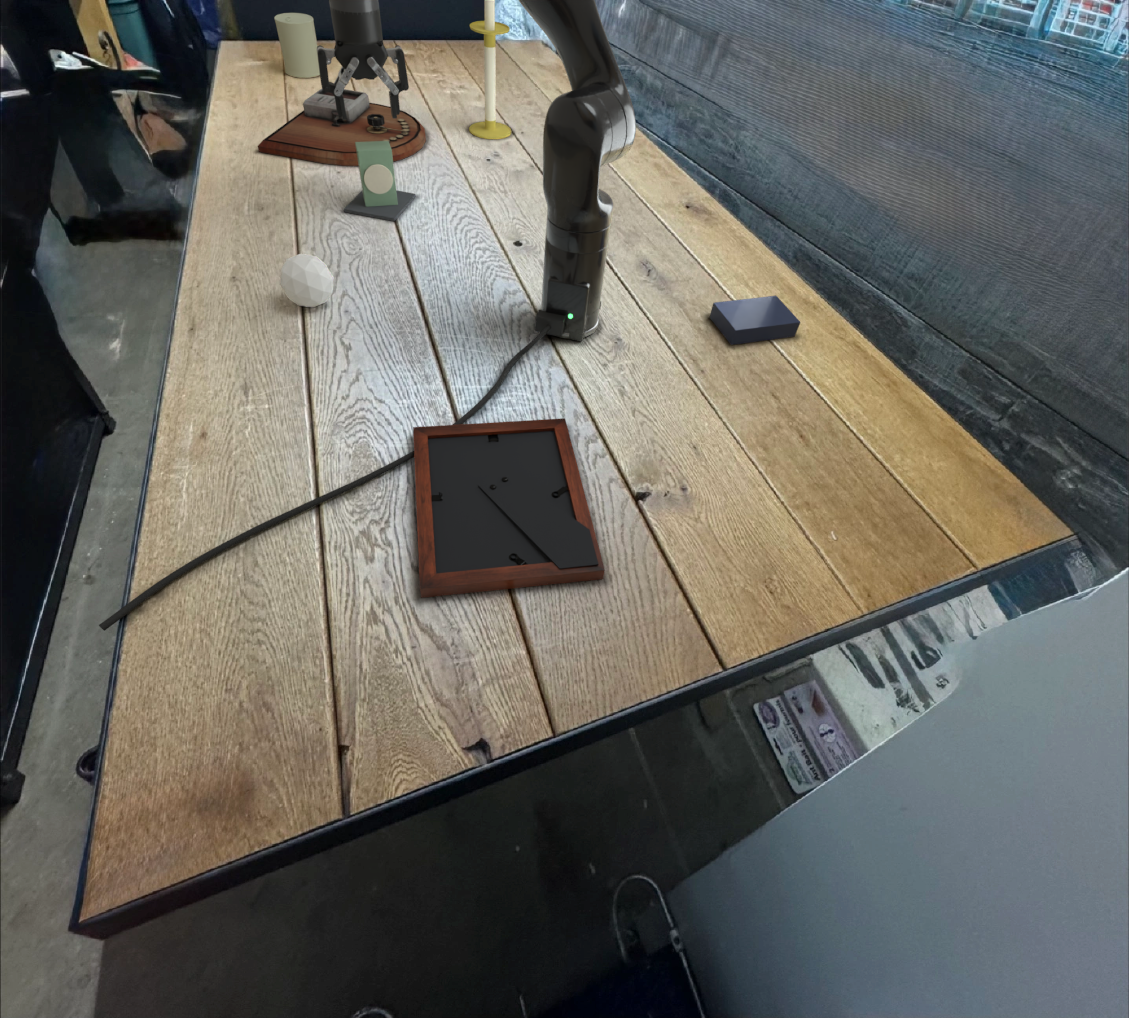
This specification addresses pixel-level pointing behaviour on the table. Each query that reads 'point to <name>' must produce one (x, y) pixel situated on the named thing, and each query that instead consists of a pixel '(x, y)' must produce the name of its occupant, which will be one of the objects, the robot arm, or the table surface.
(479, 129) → the cream and yellow pole
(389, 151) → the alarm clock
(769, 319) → the rectangular block
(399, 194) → the felt pad
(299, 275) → the geometric ball
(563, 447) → the picture frame
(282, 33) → the can
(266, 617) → the table surface
